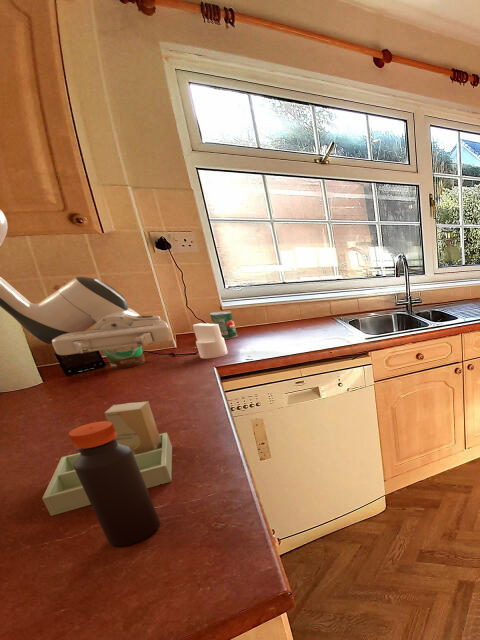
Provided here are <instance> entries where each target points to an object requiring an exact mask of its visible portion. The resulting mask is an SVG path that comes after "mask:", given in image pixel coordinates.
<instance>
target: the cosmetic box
mask: <svg viewBox="0 0 480 640" xmlns="http://www.w3.org/2000/svg"><path fill="white" fill-rule="evenodd" d="M104 416H105V419H106V421H108V422H111V423H112V424H113V426H114V429H115V431H116V434H117V437H118V439H117V440H116V441H117V443H118V444H121V445H125V446H128V447H129V448H130V449H131V450H132V452H133V455H137V454H141V453H145V452H149V451H153V450H157V449H161V448H162V442H161V439H160V436H159V434H160V432H159V430H158V427H157V423H156V420H155V417H154V414H153V411H152V409H151V405H150V401H148V400H147V401H138V402H128V403H121V404H113V405H112V406H110V407H109V408H108V409H107V410H105V412H104Z"/></svg>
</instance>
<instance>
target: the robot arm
mask: <svg viewBox="0 0 480 640" xmlns="http://www.w3.org/2000/svg"><path fill="white" fill-rule="evenodd" d="M8 226H9V225H8V220H7V217H6V215H5V213H4V211H3V210H1V208H0V247H1V246H2V244H3V243H4V241H5V238H6V237H7V234H8V229H9V228H8ZM0 308H2V309H3V310H4V311H5V312H6V313H8V314H9V315H10V316H11V317H12V318H13V319H14V320H16V321H17V323H19V324H20V325H21V327H23V328H24V329H25V330H26V331H27V332H28V333H29V334H30V335H31V336H33V337H34V338H35V339H37V340H38V341H41V342H43V343H45V344H47V345H52V347H53V349H54V351H55V353H56V355H58V356H69V355H76V354H87V353H88V354H89V353H91V352H92V353H93V352H98V351H99V352H100V351H103V350H110V351H115V352H126V351H130V350H132V349H134V348H139V347H141V346H142V347H144V346H147V345H153V344H158V343H167V342H172V341H173V337H172V334H171V330H170V328H169V325H168V323H167V322H166V321H164V320H162V318H161V317H160V316H159V315H141V314H139V312H136V310H134V309H132V308H130V307H129V304H128V301H127V299H126V297H124V296H123V295H122V294H121V293H120V292H119V291H118V290H117V289H115V288H113V286H110V285H109V284H107V283H106V282H104V281H102V280H100V279H97V278H93V277H88V276H76V277H75V278H73V279H72V280H69V281H68V282H66V284H64V285H62V286H61V287H59V288H58V289H57V290H56V291H55V292H52V294H50V295H48V296H47V297H46V298H44V299H43V300H41V301H40V302H37V303H33V302H31V301H29V300H28V299H27V298H26V297H25V296H24V295H23V294H22V293H20V292H19V291H18V290H16V288H15V287H13V286H12V285H11V284H10V283H9V282H8V281H6V280H5V279H4V278H3V277H1V276H0ZM91 327H93V329H92V330H88V329H90V328H91Z"/></svg>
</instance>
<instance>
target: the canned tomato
mask: <svg viewBox="0 0 480 640" xmlns="http://www.w3.org/2000/svg"><path fill="white" fill-rule="evenodd" d="M209 315H210V318H211V324H218V325H219V328H220V332H221V336H222V337H223V338H224V340H228V339H229V340H230V339H233V338H236V337H238V333H237V329H236V325H235V321H234V317H233V314H232V311H231V310H220V311H215V312H214V311H213V312H210V313H209Z"/></svg>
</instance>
